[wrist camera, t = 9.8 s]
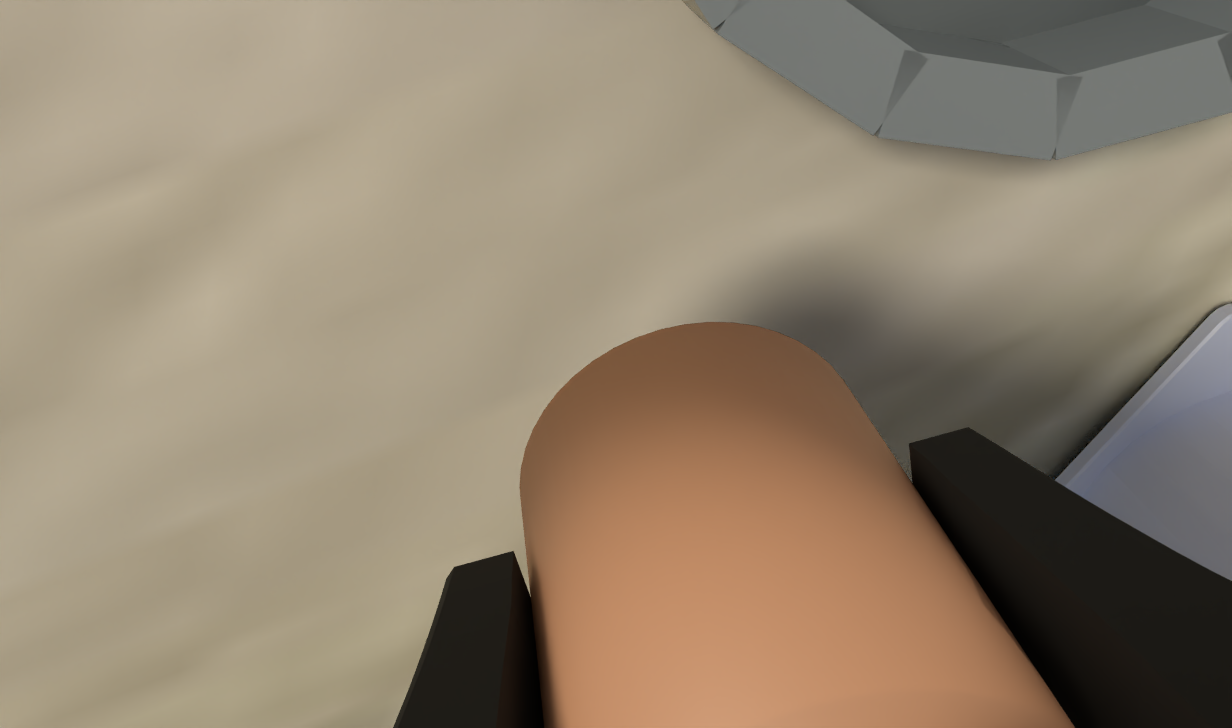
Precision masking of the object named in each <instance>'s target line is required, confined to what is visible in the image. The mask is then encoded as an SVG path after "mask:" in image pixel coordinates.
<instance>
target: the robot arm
mask: <svg viewBox="0 0 1232 728" xmlns="http://www.w3.org/2000/svg"><path fill="white" fill-rule="evenodd" d="M909 448H910V459H911V471H912V482H913V485H914V487H915V488H916V490H917V491H918V493H919V494H920V496H921V497H922V499H923V500H924V502H925V503H926V505H927V506H928V508H929V509H930V511H931V512H932V514H933V515H934V517H935V518H936V520H937V521H938V523H939V524H940V526H941V527H942V529H943V530H944V532H945V533H946V535H947V536H948V538H949V539H950V541H951V542H952V544H953V545H954V547H955V548H956V550H957V551H958V553H959V554H960V556H961V557H962V559H963V560H964V562H965V563H966V565H967V566H968V568H969V569H970V571H971V572H972V574H973V575H974V577H975V578H976V580H977V581H978V583H979V584H980V586H981V587H982V589H983V590H984V592H985V593H986V595H987V596H988V598H989V599H990V601H991V602H992V604H993V605H994V607H995V608H996V610H997V611H998V613H999V614H1000V616H1001V617H1002V619H1003V620H1004V622H1005V623H1006V625H1007V626H1008V628H1009V629H1010V631H1011V632H1012V634H1013V635H1014V637H1015V638H1016V640H1017V641H1018V643H1019V644H1020V646H1021V647H1022V649H1023V650H1024V652H1025V653H1026V655H1027V656H1028V658H1029V659H1030V661H1031V662H1032V664H1033V665H1034V667H1035V668H1036V670H1037V671H1038V673H1039V674H1040V676H1041V677H1042V679H1043V680H1044V682H1045V683H1046V685H1047V686H1048V688H1049V689H1050V691H1051V692H1052V694H1053V695H1054V697H1055V698H1056V700H1057V701H1058V703H1059V704H1060V706H1061V707H1062V709H1063V710H1064V712H1065V713H1066V715H1067V716H1068V718H1069V719H1070V721H1071V722H1072V724H1073V725H1074V727H1075V728H1232V304H1227V305H1224V306H1222V307H1220V308H1218V309H1216V310H1215V311H1214V312H1213V313H1212V314H1210V315H1209V316H1208V317H1207V318H1206V320H1205V321H1204V322H1203V323H1202V324H1201V325H1200V326H1199V327H1198V328H1197V329H1196V330H1195V331H1194V332H1193V333H1192V334H1191V336H1190V337H1189V338H1188V339H1187V340H1186V341H1185V342H1184V343H1183V344H1182V345H1181V346H1180V347H1179V348H1178V349H1177V350H1176V352H1175V353H1174V354H1173V355H1172V356H1171V357H1170V358H1169V359H1168V360H1167V361H1166V362H1165V363H1164V364H1163V365H1162V366H1161V368H1160V369H1159V370H1158V371H1157V372H1156V373H1155V374H1154V375H1153V376H1152V377H1151V378H1150V379H1149V380H1148V381H1147V382H1146V384H1145V385H1144V386H1143V387H1142V388H1141V389H1140V390H1139V391H1138V392H1137V393H1136V394H1135V395H1134V396H1133V397H1132V398H1131V399H1130V401H1129V402H1128V403H1127V404H1126V405H1125V406H1124V407H1123V408H1122V409H1121V410H1120V411H1119V412H1118V413H1117V414H1116V415H1115V417H1114V418H1113V419H1112V420H1111V421H1110V422H1109V423H1108V424H1107V425H1106V426H1105V427H1104V428H1103V429H1102V430H1101V431H1100V433H1099V434H1098V435H1097V436H1096V437H1095V438H1094V439H1093V440H1092V441H1091V442H1090V443H1089V444H1088V445H1087V446H1086V447H1085V449H1084V450H1083V451H1082V452H1081V453H1080V454H1079V455H1078V456H1077V457H1076V458H1075V459H1074V460H1073V461H1072V462H1071V463H1070V465H1069V466H1068V467H1067V468H1066V469H1065V470H1064V471H1063V472H1062V473H1061V474H1060V475H1059V476H1058V477H1057V478H1056V479H1055V480H1053V479H1052V478H1050V477H1048V476H1047V475H1045V474H1044V473H1042V472H1040V471H1039V470H1037V469H1035V468H1034V467H1032V466H1031V465H1029V464H1027V463H1026V462H1024V461H1023V460H1021V459H1019V458H1018V457H1016V456H1014V455H1013V454H1011V453H1010V452H1008V451H1006V450H1005V449H1003V448H1002V447H1000V446H998V445H997V444H995V443H993V442H992V441H990V440H988V439H987V438H985V437H984V436H982V435H980V434H979V433H977V432H975V431H974V430H972V429H970V428H969V427H968V428H964V429H961V430H957V431H953V432H950V433H946V434H942V435H939V436H935V437H931V438H928V439H924V440H920V441H916V442H913V443H909ZM393 728H544V720H543V711H542V701H541V691H540V681H539V672H538V662H537V652H536V643H535V633H534V623H533V613H532V604H531V597H530V594H529V592H528V589H527V586H526V584H525V581H524V578H523V575H522V573H521V570H520V567H519V565H518V562H517V559H516V557H515V554H514V551H512V552H508V553H504V554H501V555H497V556H493V557H490V558H486V559H482V560H478V561H475V562H471V563H467V564H464V565H460V566H456V567H454V568H453V570H452V571H451V573H450V574H449V576H448V577H447V579H446V582H445V585H444V588H443V592H442V595H441V598H440V602H439V605H438V608H437V611H436V614H435V617H434V620H433V623H432V626H431V629H430V632H429V635H428V638H427V641H426V643H425V646H424V649H423V652H422V655H421V657H420V660H419V663H418V666H417V668H416V671H415V674H414V677H413V679H412V682H411V685H410V687H409V690H408V692H407V695H406V697H405V700H404V702H403V705H402V707H401V710H400V712H399V715H398V717H397V720H396V722H395V725H394V727H393Z"/></svg>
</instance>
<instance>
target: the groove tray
mask: <svg viewBox="0 0 1232 728" xmlns="http://www.w3.org/2000/svg"><path fill="white" fill-rule="evenodd" d="M682 1H683V2H684V3H685V4H686V5H687V6H688V7H689V8H690V9H691V10H692V11H693V12H694V13H695V14H697V15H698V16H699V17H700V18H701V19H702V20H703V21H704V22H705V23H706V24H707V25H708V26H709V27H711V28H712V29H713V30H714V31H715V32H716V33H717V34H718V35H720V36H721V37H723V38H725V39H726V40H728V41H729V42H731V43H732V44H734V45H735V46H737V47H738V48H740V49H741V50H743V51H744V52H746V53H747V54H749V55H751V56H752V57H754V58H755V59H757V60H758V61H760V62H761V63H763V64H764V65H766V66H767V67H769V68H770V69H772V70H773V71H775V72H777V73H778V74H780V75H781V76H783V77H784V78H786V79H787V80H789V81H790V82H792V83H793V84H795V85H796V86H798V87H799V88H801V89H803V90H804V91H806V92H807V93H809V94H810V95H812V96H813V97H815V98H816V99H818V100H819V101H821V102H822V103H824V104H825V105H827V106H829V107H830V108H832V109H833V110H835V111H836V112H838V113H839V114H841V115H842V116H844V117H845V118H847V119H848V120H850V121H851V122H853V123H855V124H856V125H858V126H859V127H861V128H862V129H864V130H865V131H867V132H868V133H870V134H871V135H874V134H875V135H876V136H877V137H878V138H885V139H893V140H900V141H908V142H915V143H923V144H930V145H938V146H946V147H953V148H961V149H968V150H976V151H983V152H991V153H999V154H1006V155H1014V156H1021V157H1029V158H1036V159H1044V160H1051V158H1054V159H1055V160H1058V159H1061V158H1065V157H1069V156H1072V155H1076V154H1080V153H1084V152H1087V151H1091V150H1095V149H1098V148H1102V147H1106V146H1109V145H1113V144H1117V143H1120V142H1124V141H1128V140H1132V139H1135V138H1139V137H1143V136H1146V135H1150V134H1154V133H1157V132H1161V131H1165V130H1169V129H1172V128H1176V127H1180V126H1183V125H1187V124H1191V123H1194V122H1198V121H1202V120H1206V119H1209V118H1213V117H1217V116H1220V115H1224V114H1228V113H1231V112H1232V0H682Z"/></svg>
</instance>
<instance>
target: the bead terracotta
mask: <svg viewBox="0 0 1232 728" xmlns="http://www.w3.org/2000/svg"><path fill="white" fill-rule="evenodd" d="M520 497H521V507H522V517H523V527H524V536H525V546H526V556H527V565H528V575H529V585H530V594H531V604H532V613H533V623H534V633H535V643H536V652H537V662H538V672H539V681H540V691H541V701H542V711H543V720H544V728H1075V727H1074V725H1073V724H1072V722H1071V721H1070V719H1069V718H1068V716H1067V715H1066V713H1065V712H1064V710H1063V709H1062V707H1061V706H1060V704H1059V703H1058V701H1057V700H1056V698H1055V697H1054V695H1053V694H1052V692H1051V691H1050V689H1049V688H1048V686H1047V685H1046V683H1045V682H1044V680H1043V679H1042V677H1041V676H1040V674H1039V673H1038V671H1037V670H1036V668H1035V667H1034V665H1033V664H1032V662H1031V661H1030V659H1029V658H1028V656H1027V655H1026V653H1025V652H1024V650H1023V649H1022V647H1021V646H1020V644H1019V643H1018V641H1017V640H1016V638H1015V637H1014V635H1013V634H1012V632H1011V631H1010V629H1009V628H1008V626H1007V625H1006V623H1005V622H1004V620H1003V619H1002V617H1001V616H1000V614H999V613H998V611H997V610H996V608H995V607H994V605H993V604H992V602H991V601H990V599H989V598H988V596H987V595H986V593H985V592H984V590H983V589H982V587H981V586H980V584H979V583H978V581H977V580H976V578H975V577H974V575H973V574H972V572H971V571H970V569H969V568H968V566H967V565H966V563H965V562H964V560H963V559H962V557H961V556H960V554H959V553H958V551H957V550H956V548H955V547H954V545H953V544H952V542H951V541H950V539H949V538H948V536H947V535H946V533H945V532H944V530H943V529H942V527H941V526H940V524H939V523H938V521H937V520H936V518H935V517H934V515H933V514H932V512H931V511H930V509H929V508H928V506H927V505H926V503H925V502H924V500H923V499H922V497H921V496H920V494H919V493H918V491H917V490H916V488H915V487H914V485H913V484H912V482H911V481H910V479H909V478H908V476H907V475H906V473H905V472H904V470H903V469H902V467H901V466H900V464H899V463H898V461H897V460H896V458H895V457H894V455H893V454H892V452H891V451H890V449H889V448H888V446H887V445H886V443H885V442H884V440H883V439H882V437H881V436H880V434H879V433H878V431H877V430H876V428H875V427H874V425H873V424H872V422H871V421H870V419H869V418H868V416H867V415H866V413H865V412H864V410H863V409H862V407H861V406H860V404H859V403H858V401H857V400H856V398H855V397H854V395H853V394H852V392H851V391H850V389H849V388H848V386H847V385H846V383H845V382H844V380H843V379H842V378H841V377H840V376H839V374H838V373H837V372H836V371H835V370H834V368H833V367H832V366H831V365H830V364H829V363H828V362H826V361H825V360H824V359H823V358H822V357H821V356H820V355H818V354H817V353H816V352H815V351H813V350H811V349H810V348H808V347H807V346H805V345H803V344H802V343H800V342H799V341H797V340H794V339H792V338H790V337H788V336H785V335H783V334H781V333H779V332H775V331H772V330H768V329H765V328H761V327H758V326H752V325H746V324H739V323H726V322H705V323H694V324H684V325H679V326H675V327H670V328H665V329H661V330H657V331H655V332H652V333H649V334H646V335H643V336H640V337H637V338H634V339H632V340H630V341H628V342H626V343H624V344H622V345H619V346H617V347H615V348H613V349H612V350H610V351H608V352H607V353H605V354H603V355H602V356H600V357H599V358H597V359H595V360H594V361H592V362H591V363H590V364H588V365H587V366H586V367H585V368H583V369H582V370H581V371H580V372H578V373H577V374H576V375H575V376H573V377H572V378H571V379H570V380H569V381H568V382H567V383H566V384H565V386H564V387H563V388H562V389H561V390H560V391H559V392H558V393H557V394H556V395H555V397H554V398H553V399H552V400H551V402H550V403H549V404H548V406H547V407H546V408H545V410H544V411H543V413H542V415H541V416H540V418H539V420H538V422H537V423H536V425H535V427H534V429H533V431H532V433H531V436H530V438H529V441H528V444H527V446H526V449H525V453H524V457H523V462H522V466H521V475H520Z"/></svg>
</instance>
